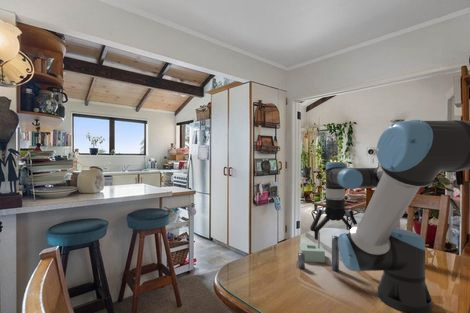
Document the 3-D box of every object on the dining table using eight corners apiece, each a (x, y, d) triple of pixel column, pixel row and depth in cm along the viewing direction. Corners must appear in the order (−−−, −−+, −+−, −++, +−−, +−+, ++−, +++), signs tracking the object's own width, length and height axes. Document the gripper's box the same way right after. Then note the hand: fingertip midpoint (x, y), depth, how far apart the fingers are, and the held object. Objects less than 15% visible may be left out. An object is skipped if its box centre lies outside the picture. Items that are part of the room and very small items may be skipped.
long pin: (339, 271, 105) (339, 238, 105) (332, 271, 105) (332, 237, 105) (338, 268, 107) (337, 236, 107) (331, 268, 108) (331, 235, 108)
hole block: (324, 262, 114) (324, 251, 114) (302, 261, 115) (301, 250, 115) (320, 253, 123) (320, 243, 123) (299, 252, 125) (299, 242, 125)
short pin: (305, 269, 107) (305, 255, 107) (298, 269, 107) (298, 255, 107) (304, 266, 110) (304, 252, 109) (297, 266, 110) (297, 252, 110)
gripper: (363, 197, 108) (363, 246, 108) (303, 196, 112) (303, 243, 112) (369, 200, 101) (369, 253, 101) (305, 199, 104) (305, 249, 105)
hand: (334, 248), depth 107 cm, fingers open, 13 cm apart
